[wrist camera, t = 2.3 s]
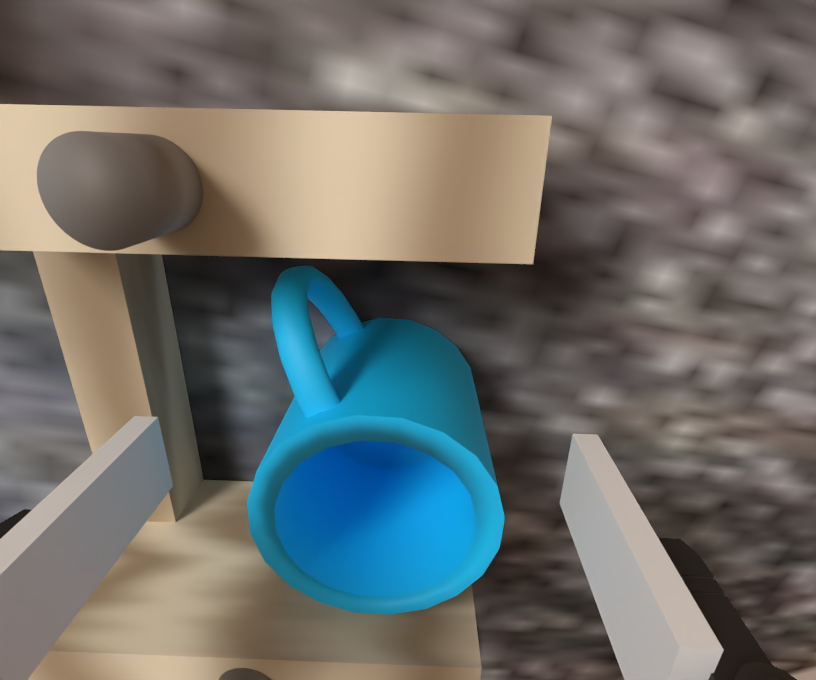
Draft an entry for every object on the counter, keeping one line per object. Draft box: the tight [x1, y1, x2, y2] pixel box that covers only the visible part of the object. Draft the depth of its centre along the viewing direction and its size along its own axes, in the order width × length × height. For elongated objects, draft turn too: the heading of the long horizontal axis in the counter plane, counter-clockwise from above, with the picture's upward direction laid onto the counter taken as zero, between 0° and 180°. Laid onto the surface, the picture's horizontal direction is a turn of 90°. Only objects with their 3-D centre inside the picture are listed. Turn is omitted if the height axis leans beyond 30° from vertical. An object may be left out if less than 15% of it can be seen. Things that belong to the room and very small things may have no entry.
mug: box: [247, 265, 505, 615], centre depth 18 cm, size 12×8×8 cm
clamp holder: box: [0, 104, 552, 680], centre depth 16 cm, size 16×20×11 cm
